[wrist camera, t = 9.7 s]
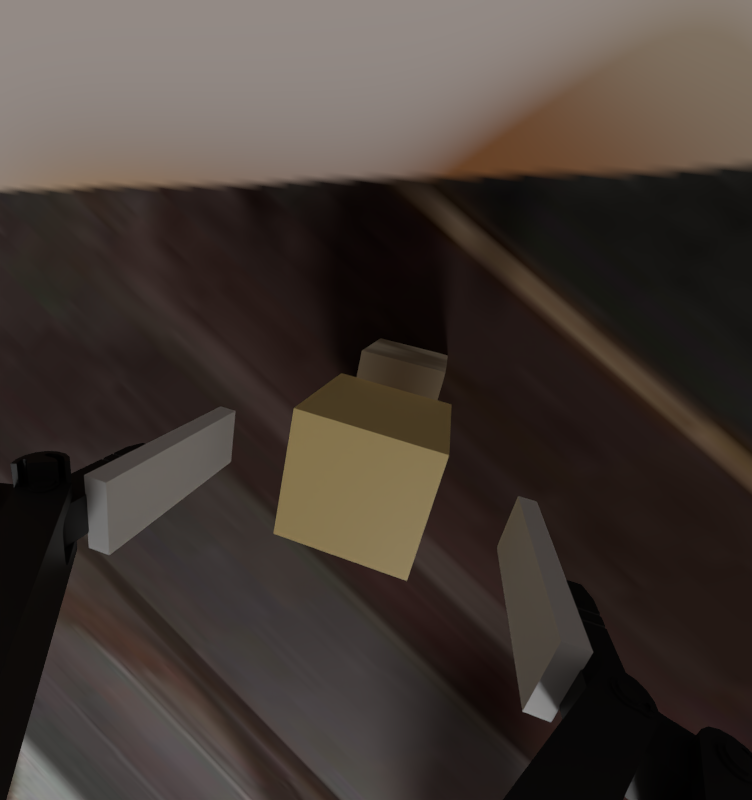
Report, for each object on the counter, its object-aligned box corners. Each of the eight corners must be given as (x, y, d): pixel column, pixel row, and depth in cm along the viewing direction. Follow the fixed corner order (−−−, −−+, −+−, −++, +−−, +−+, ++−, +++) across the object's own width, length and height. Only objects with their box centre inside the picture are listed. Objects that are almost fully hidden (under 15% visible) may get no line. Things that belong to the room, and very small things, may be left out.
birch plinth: (354, 458, 26) (332, 495, 22) (381, 338, 23) (362, 350, 19) (413, 475, 26) (403, 517, 21) (447, 354, 23) (445, 372, 18)
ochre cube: (322, 468, 21) (273, 533, 16) (341, 373, 19) (294, 408, 14) (420, 500, 20) (406, 580, 15) (451, 404, 18) (449, 455, 13)
